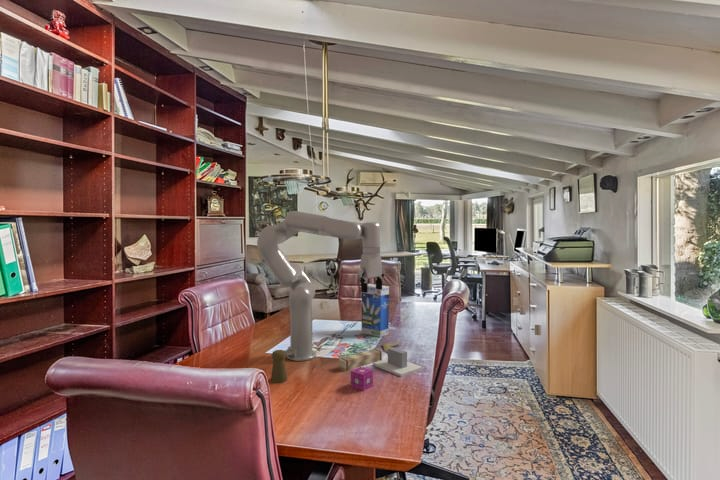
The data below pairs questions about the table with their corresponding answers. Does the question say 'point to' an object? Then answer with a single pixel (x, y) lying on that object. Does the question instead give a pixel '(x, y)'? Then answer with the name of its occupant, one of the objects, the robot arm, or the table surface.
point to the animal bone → (389, 346)
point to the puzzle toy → (362, 378)
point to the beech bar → (360, 359)
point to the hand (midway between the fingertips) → (371, 290)
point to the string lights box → (375, 311)
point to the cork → (279, 367)
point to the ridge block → (397, 363)
